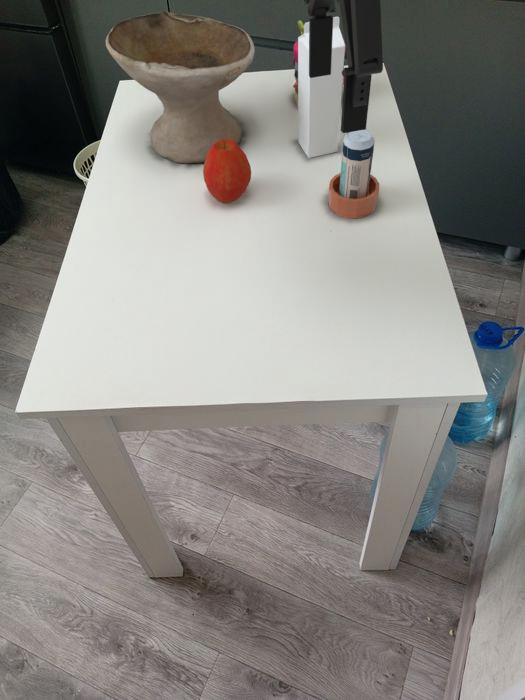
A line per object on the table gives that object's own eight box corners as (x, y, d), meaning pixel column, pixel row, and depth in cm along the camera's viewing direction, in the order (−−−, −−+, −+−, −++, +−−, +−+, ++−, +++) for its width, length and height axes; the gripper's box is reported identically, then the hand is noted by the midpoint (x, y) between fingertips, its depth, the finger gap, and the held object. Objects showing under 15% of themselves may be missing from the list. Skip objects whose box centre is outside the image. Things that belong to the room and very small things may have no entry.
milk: (297, 142, 99) (296, 15, 82) (327, 135, 100) (332, 8, 83) (308, 159, 96) (310, 30, 78) (338, 152, 97) (347, 23, 79)
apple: (247, 212, 88) (242, 157, 79) (201, 208, 89) (191, 153, 80) (257, 183, 92) (253, 127, 84) (213, 180, 94) (204, 125, 85)
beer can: (372, 200, 87) (382, 135, 77) (352, 213, 85) (359, 147, 75) (353, 187, 89) (359, 122, 79) (332, 199, 88) (336, 134, 78)
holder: (383, 213, 86) (386, 195, 83) (336, 222, 85) (337, 204, 82) (367, 184, 90) (369, 166, 87) (322, 193, 90) (323, 175, 87)
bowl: (258, 174, 94) (249, 61, 78) (124, 179, 95) (88, 69, 79) (261, 102, 109) (255, -6, 93) (145, 107, 110) (119, 2, 94)
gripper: (273, -161, 52) (281, 60, 69) (351, -100, 37) (335, 163, 54) (345, -170, 52) (335, 51, 69) (450, -114, 37) (404, 151, 54)
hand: (335, 100), depth 61 cm, fingers open, 13 cm apart
